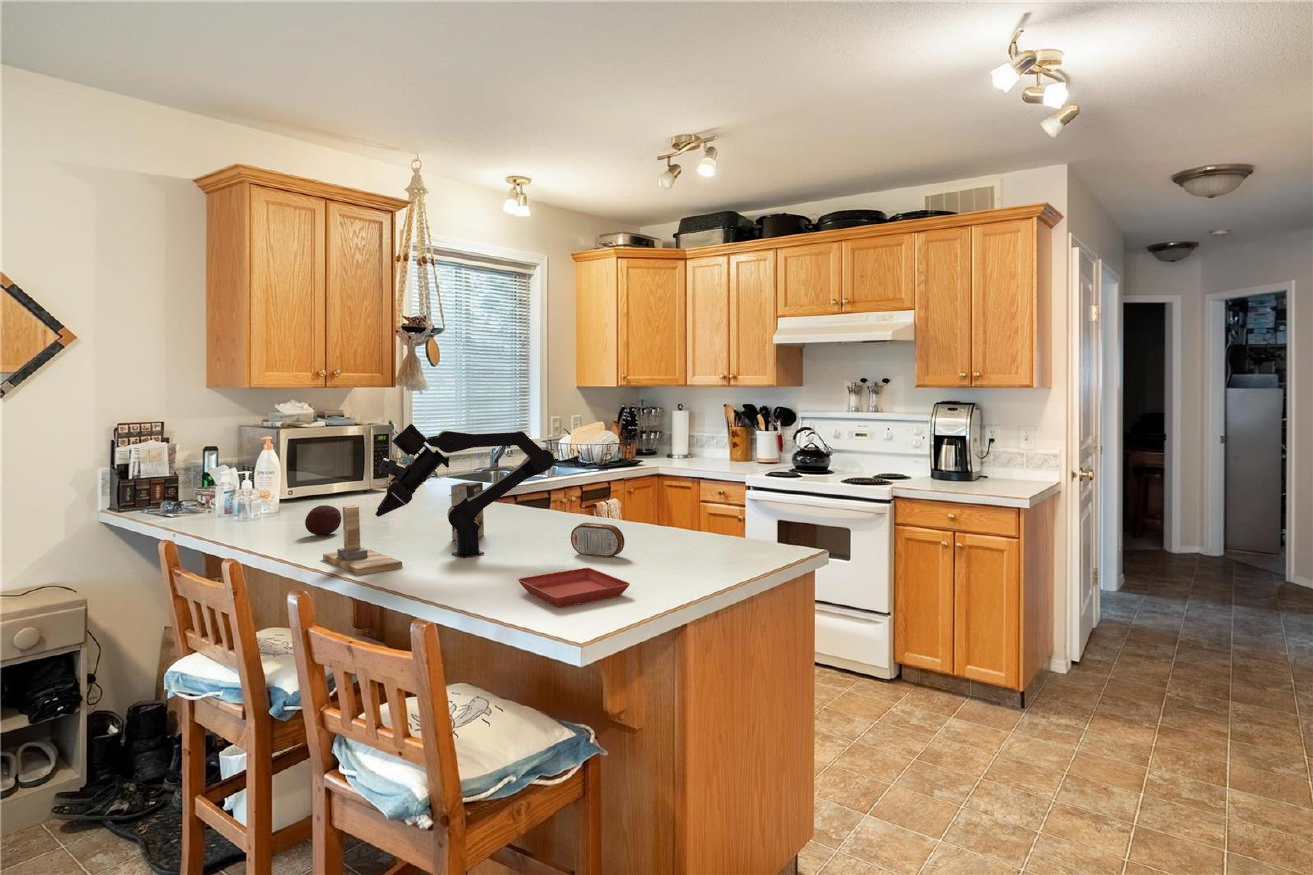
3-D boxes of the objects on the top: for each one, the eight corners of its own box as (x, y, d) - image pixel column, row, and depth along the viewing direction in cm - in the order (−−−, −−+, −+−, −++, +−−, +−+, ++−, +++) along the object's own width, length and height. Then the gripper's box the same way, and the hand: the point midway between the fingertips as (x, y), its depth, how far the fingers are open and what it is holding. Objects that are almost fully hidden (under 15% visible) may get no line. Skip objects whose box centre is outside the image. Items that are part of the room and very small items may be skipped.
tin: (625, 556, 204) (624, 524, 203) (619, 559, 201) (619, 526, 200) (575, 552, 210) (574, 521, 210) (569, 554, 207) (568, 523, 207)
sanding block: (367, 557, 199) (365, 507, 198) (347, 561, 196) (345, 509, 195) (357, 553, 204) (355, 504, 203) (337, 556, 201) (335, 506, 200)
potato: (349, 532, 243) (348, 503, 242) (318, 540, 232) (317, 508, 231) (327, 531, 246) (326, 501, 245) (297, 538, 235) (295, 507, 234)
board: (402, 567, 194) (402, 561, 194) (358, 575, 187) (357, 568, 187) (364, 553, 212) (364, 547, 212) (323, 559, 205) (322, 553, 205)
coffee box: (472, 540, 227) (470, 485, 226) (451, 540, 229) (449, 485, 228) (485, 534, 236) (483, 481, 235) (465, 534, 238) (463, 481, 237)
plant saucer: (632, 597, 165) (631, 582, 165) (555, 613, 155) (555, 596, 155) (588, 581, 180) (588, 566, 180) (516, 593, 170) (516, 578, 169)
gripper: (398, 444, 210) (356, 487, 208) (396, 449, 192) (349, 496, 190) (429, 472, 213) (388, 515, 211) (430, 480, 195) (385, 526, 193)
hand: (377, 512), depth 201 cm, fingers open, 9 cm apart
